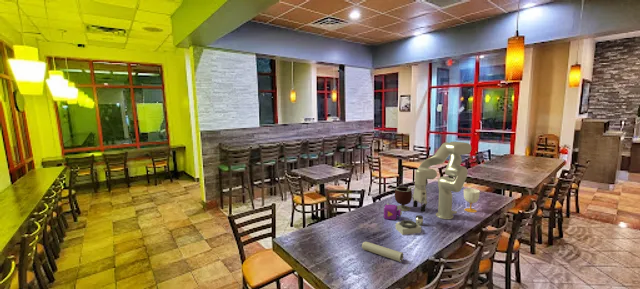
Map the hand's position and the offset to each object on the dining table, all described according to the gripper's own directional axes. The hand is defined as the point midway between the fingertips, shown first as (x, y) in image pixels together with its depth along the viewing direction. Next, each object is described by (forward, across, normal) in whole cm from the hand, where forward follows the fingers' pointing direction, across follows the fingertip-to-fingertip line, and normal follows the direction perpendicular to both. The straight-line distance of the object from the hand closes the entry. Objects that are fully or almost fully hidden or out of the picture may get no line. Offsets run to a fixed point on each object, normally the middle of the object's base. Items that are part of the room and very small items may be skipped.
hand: (418, 209), depth 199 cm
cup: (+10, +13, -56) cm, 58 cm away
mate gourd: (+12, +31, -6) cm, 34 cm away
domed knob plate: (+12, -7, +12) cm, 18 cm away
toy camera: (+12, +16, +12) cm, 24 cm away
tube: (+14, -31, +43) cm, 55 cm away
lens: (+12, 0, -1) cm, 12 cm away
